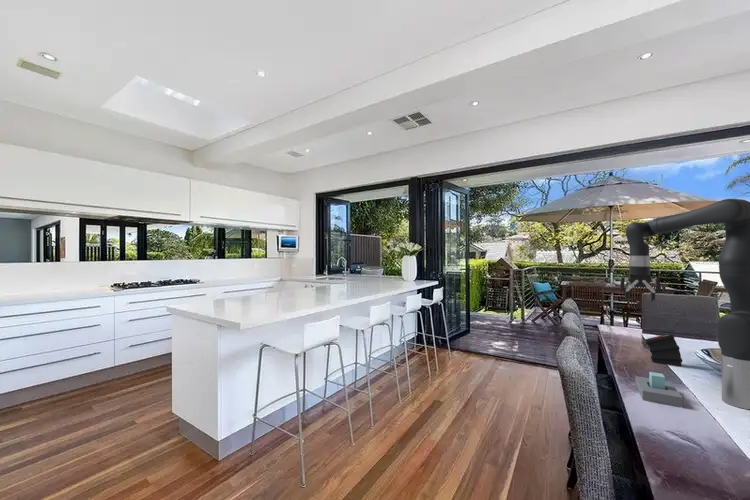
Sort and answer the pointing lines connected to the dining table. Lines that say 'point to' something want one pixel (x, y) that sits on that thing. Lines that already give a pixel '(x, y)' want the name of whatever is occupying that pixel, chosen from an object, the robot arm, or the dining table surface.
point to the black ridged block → (664, 350)
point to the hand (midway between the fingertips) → (639, 300)
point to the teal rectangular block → (656, 380)
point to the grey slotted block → (658, 392)
